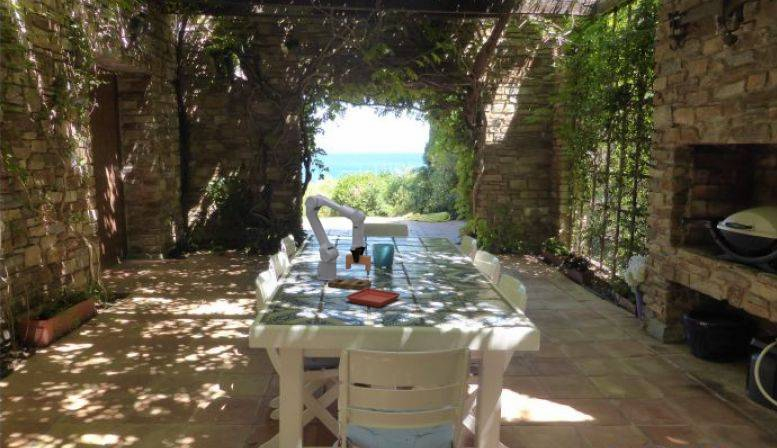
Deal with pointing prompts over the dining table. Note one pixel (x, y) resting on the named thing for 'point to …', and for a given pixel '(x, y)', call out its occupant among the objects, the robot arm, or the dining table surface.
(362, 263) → the tan stepped block
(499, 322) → the dining table surface
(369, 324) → the dining table surface
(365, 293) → the plant saucer
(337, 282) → the brown flat slab
